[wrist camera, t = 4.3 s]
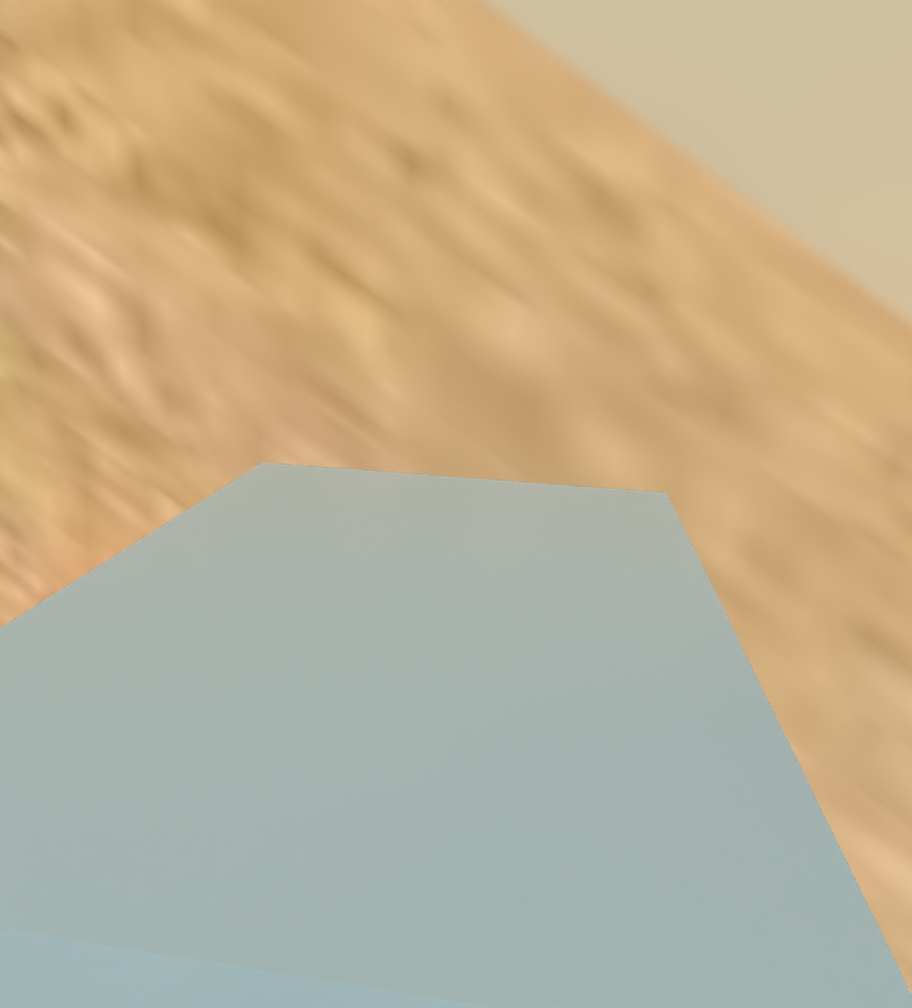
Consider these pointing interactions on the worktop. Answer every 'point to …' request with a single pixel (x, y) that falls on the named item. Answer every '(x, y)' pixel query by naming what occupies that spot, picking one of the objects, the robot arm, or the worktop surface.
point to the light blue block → (411, 767)
